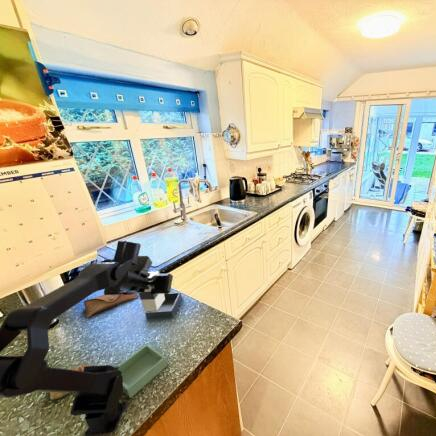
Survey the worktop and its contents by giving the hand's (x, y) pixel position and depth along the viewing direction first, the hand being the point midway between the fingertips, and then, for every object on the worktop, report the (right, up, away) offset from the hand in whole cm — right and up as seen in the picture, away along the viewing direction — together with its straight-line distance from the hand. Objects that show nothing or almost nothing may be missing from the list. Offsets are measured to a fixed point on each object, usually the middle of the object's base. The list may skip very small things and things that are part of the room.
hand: (153, 287), depth 83 cm
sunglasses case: (-27, -11, +17) cm, 34 cm away
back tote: (-3, -13, +14) cm, 19 cm away
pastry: (-16, -24, -15) cm, 32 cm away
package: (0, -6, +1) cm, 7 cm away
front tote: (+3, -23, -11) cm, 25 cm away
